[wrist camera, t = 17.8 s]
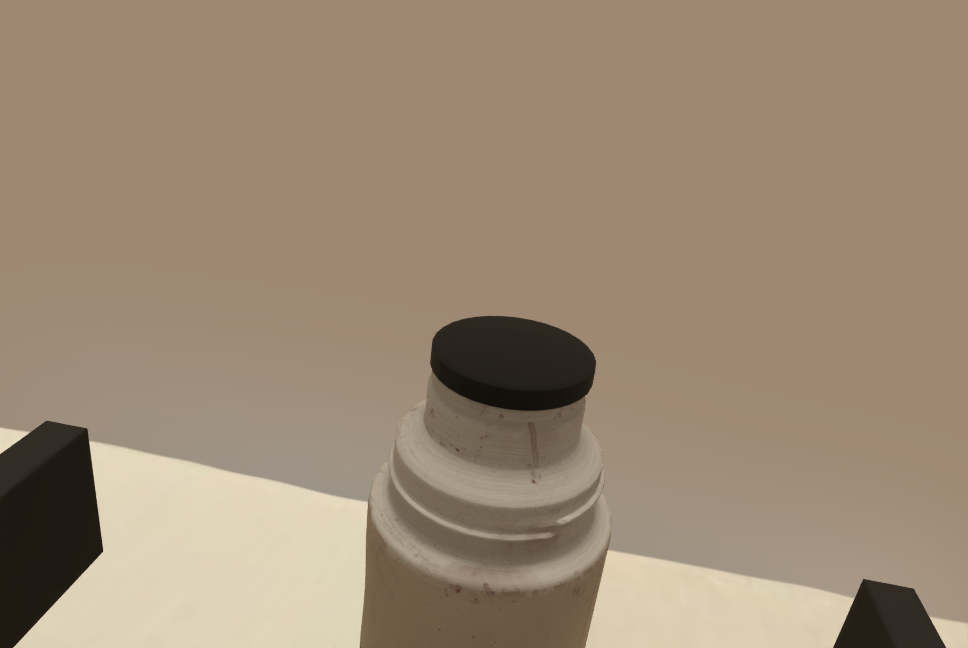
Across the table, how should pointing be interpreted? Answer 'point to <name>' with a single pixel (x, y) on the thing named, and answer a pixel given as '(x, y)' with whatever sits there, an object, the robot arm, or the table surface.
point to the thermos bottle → (490, 498)
